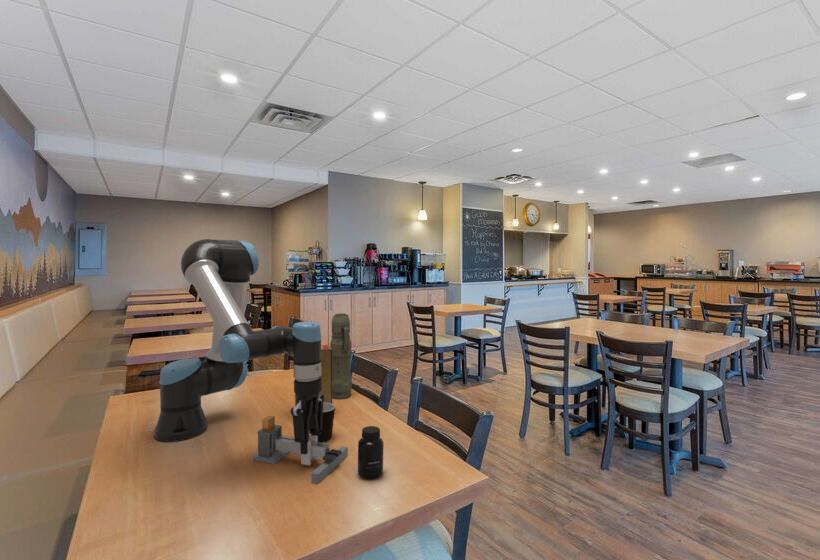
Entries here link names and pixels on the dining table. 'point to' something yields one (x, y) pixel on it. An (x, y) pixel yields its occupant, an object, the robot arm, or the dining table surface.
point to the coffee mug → (327, 422)
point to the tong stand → (317, 473)
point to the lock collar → (268, 436)
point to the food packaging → (325, 374)
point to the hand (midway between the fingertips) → (309, 461)
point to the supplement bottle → (370, 453)
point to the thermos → (341, 357)
